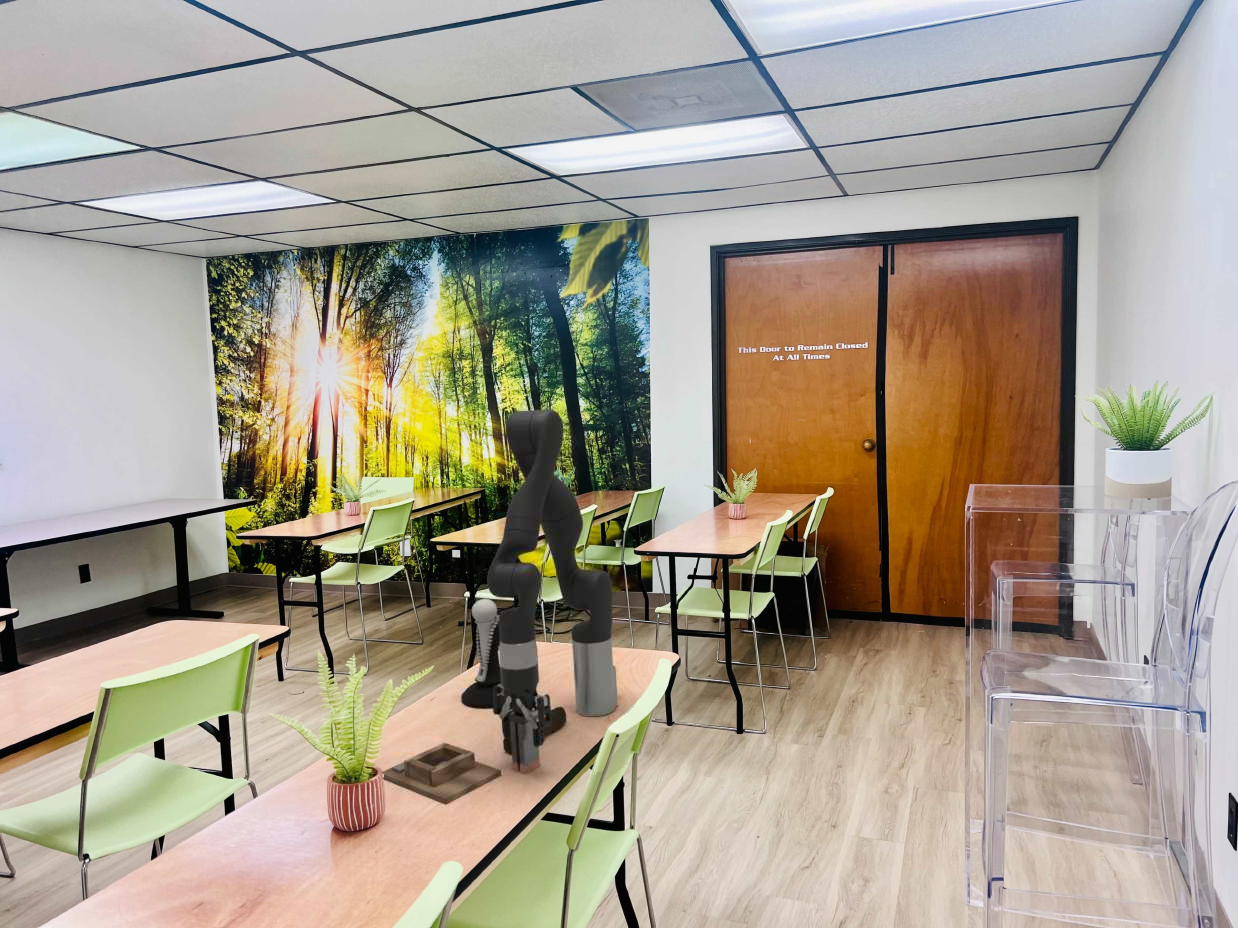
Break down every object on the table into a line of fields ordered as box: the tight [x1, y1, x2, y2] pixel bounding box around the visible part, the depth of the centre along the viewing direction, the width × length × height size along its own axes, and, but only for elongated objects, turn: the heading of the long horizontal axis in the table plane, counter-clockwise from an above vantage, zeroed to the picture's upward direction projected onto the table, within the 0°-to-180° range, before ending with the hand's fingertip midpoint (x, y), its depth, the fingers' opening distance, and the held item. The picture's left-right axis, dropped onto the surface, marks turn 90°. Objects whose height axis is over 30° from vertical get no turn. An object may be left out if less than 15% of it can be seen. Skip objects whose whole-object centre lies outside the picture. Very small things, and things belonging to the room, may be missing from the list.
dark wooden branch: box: [502, 706, 568, 755], centre depth 185 cm, size 19×4×5 cm, turn 142°
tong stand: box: [381, 742, 502, 805], centre depth 169 cm, size 14×20×4 cm
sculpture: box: [460, 598, 501, 710], centre depth 214 cm, size 15×24×25 cm, turn 147°
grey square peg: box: [509, 709, 541, 775], centre depth 170 cm, size 4×4×13 cm
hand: (523, 740), depth 170 cm, fingers open, 8 cm apart
